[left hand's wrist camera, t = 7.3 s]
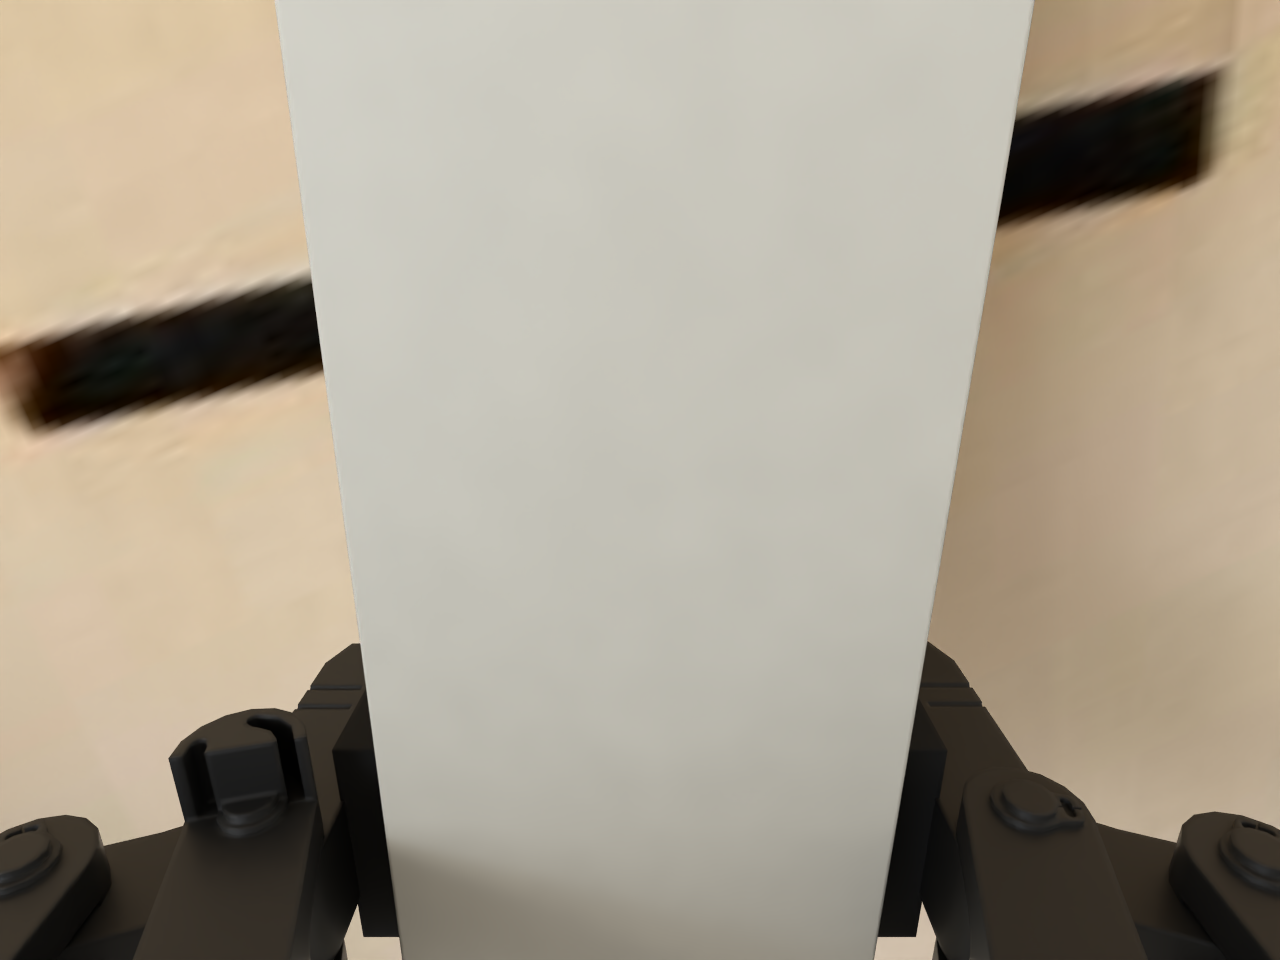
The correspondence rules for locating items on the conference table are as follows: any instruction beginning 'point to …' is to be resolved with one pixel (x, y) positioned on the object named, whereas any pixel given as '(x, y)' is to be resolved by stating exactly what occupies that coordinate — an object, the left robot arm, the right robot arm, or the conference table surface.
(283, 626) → the conference table surface
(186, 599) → the conference table surface
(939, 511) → the bar
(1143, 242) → the conference table surface
